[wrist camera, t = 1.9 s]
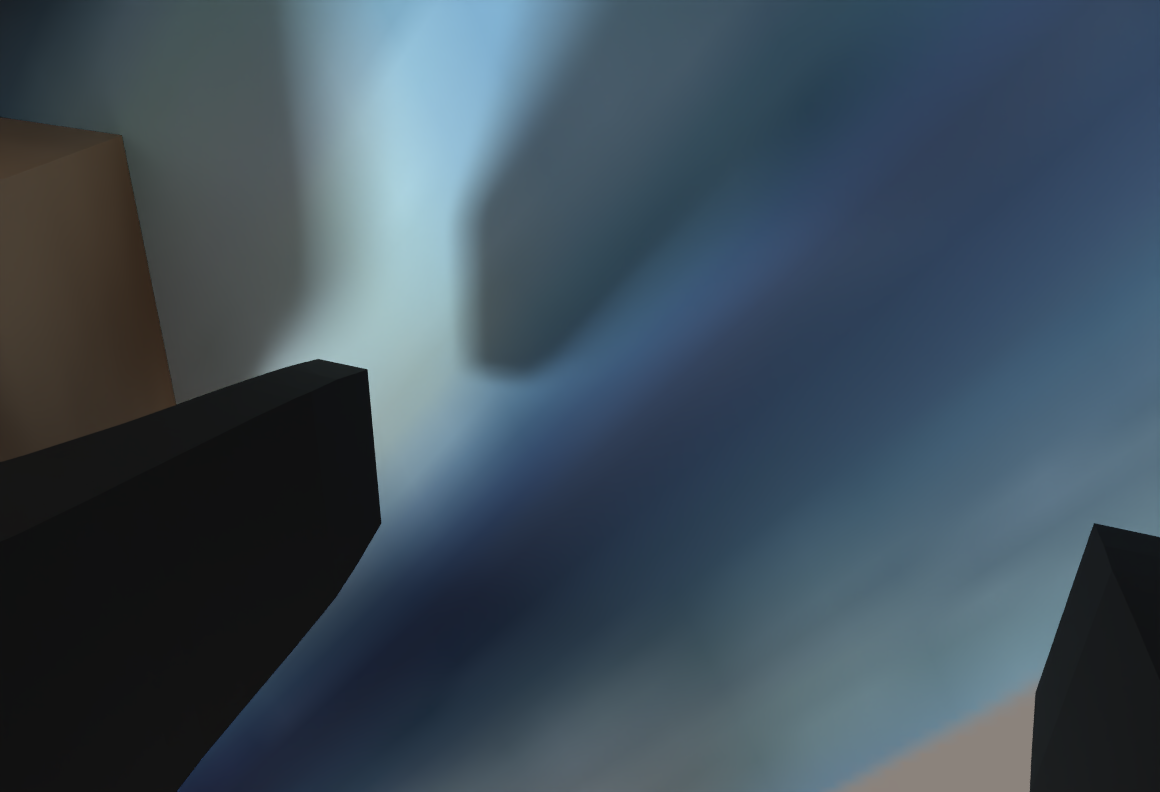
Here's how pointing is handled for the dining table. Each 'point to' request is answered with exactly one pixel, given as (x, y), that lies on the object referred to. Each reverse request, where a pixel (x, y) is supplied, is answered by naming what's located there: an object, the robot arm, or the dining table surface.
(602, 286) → the dining table surface
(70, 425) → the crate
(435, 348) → the dining table surface
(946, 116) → the dining table surface
